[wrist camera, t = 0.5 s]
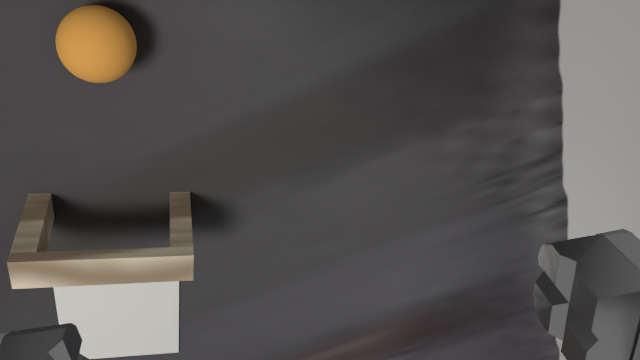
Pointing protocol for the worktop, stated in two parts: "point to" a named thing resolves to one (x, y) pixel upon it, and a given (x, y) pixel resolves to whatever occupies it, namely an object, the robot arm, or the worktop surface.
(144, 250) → the bridge
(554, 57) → the worktop surface
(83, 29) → the ball
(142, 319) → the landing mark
